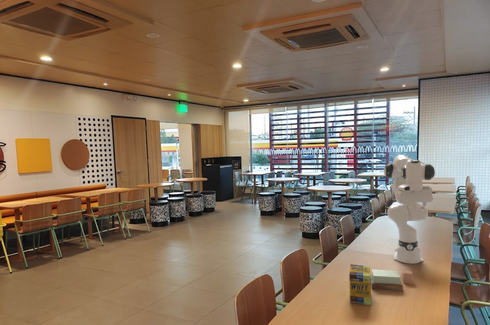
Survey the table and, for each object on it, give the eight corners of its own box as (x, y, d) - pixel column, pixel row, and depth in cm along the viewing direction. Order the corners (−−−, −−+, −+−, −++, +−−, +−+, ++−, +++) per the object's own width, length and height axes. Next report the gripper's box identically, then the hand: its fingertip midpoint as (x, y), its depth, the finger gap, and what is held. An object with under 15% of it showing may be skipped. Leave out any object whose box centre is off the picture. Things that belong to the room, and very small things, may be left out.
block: (401, 279, 196) (401, 270, 196) (411, 280, 195) (410, 270, 194) (403, 283, 191) (403, 273, 191) (412, 283, 190) (412, 273, 190)
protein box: (349, 303, 170) (349, 274, 170) (351, 290, 185) (350, 263, 184) (371, 305, 167) (370, 276, 166) (370, 292, 181) (370, 265, 180)
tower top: (371, 275, 195) (371, 269, 195) (396, 277, 192) (396, 270, 192) (373, 282, 186) (373, 275, 186) (400, 284, 182) (400, 277, 182)
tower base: (370, 281, 197) (369, 275, 197) (398, 283, 192) (398, 276, 192) (372, 290, 185) (371, 283, 185) (402, 292, 181) (402, 285, 181)
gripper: (428, 185, 198) (429, 208, 198) (395, 186, 198) (395, 209, 198) (434, 186, 191) (435, 209, 192) (399, 188, 192) (400, 211, 192)
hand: (414, 209), depth 195 cm, fingers open, 8 cm apart
